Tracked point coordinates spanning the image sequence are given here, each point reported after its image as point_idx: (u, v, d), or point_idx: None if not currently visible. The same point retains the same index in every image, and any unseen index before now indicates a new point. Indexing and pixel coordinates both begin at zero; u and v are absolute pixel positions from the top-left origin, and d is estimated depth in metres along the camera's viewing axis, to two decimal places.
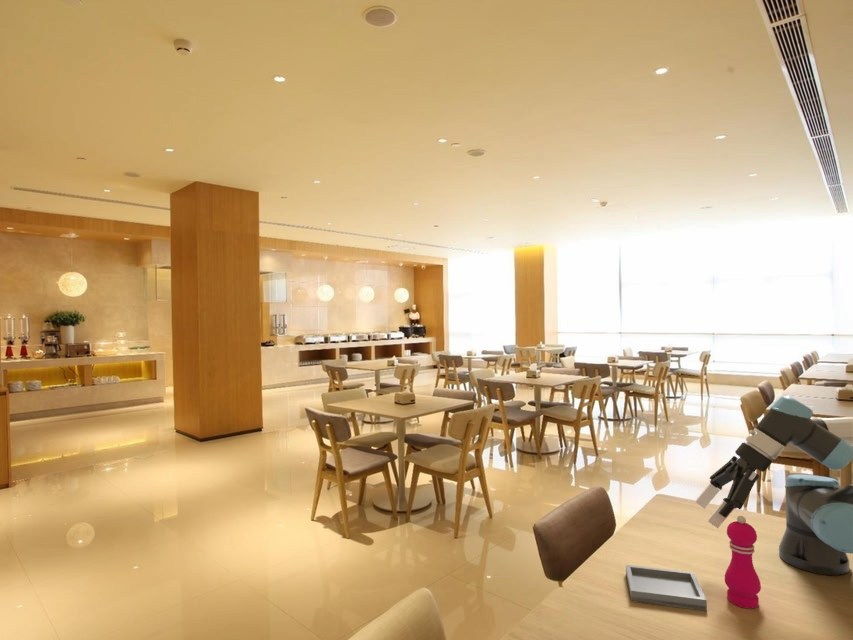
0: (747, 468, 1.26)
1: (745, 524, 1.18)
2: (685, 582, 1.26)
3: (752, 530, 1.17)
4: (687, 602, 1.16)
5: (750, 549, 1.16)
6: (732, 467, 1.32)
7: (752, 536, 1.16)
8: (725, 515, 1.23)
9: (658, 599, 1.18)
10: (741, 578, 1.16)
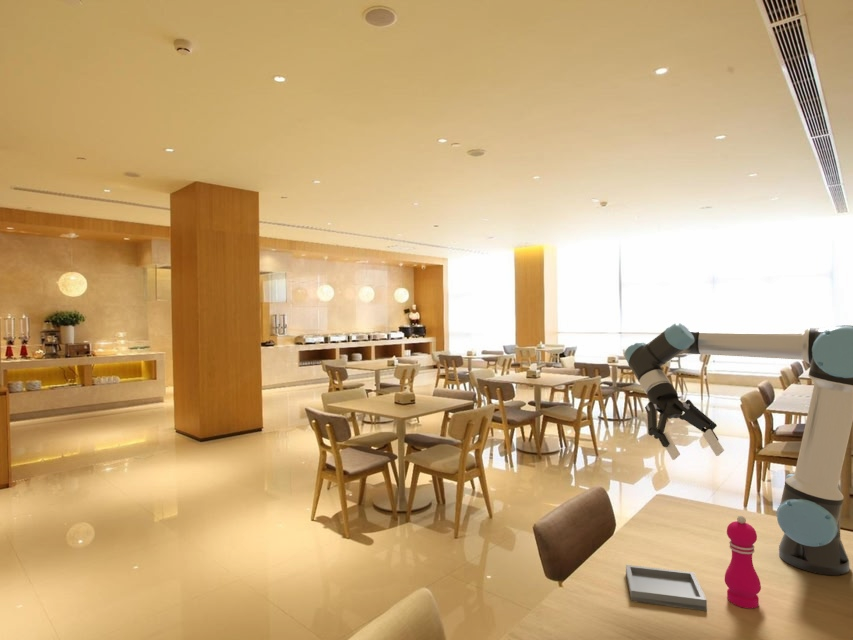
0: None
1: (745, 524, 1.18)
2: (685, 582, 1.26)
3: (752, 530, 1.17)
4: (687, 602, 1.16)
5: (750, 549, 1.16)
6: None
7: (752, 536, 1.16)
8: (664, 443, 1.32)
9: (658, 599, 1.18)
10: (741, 578, 1.16)
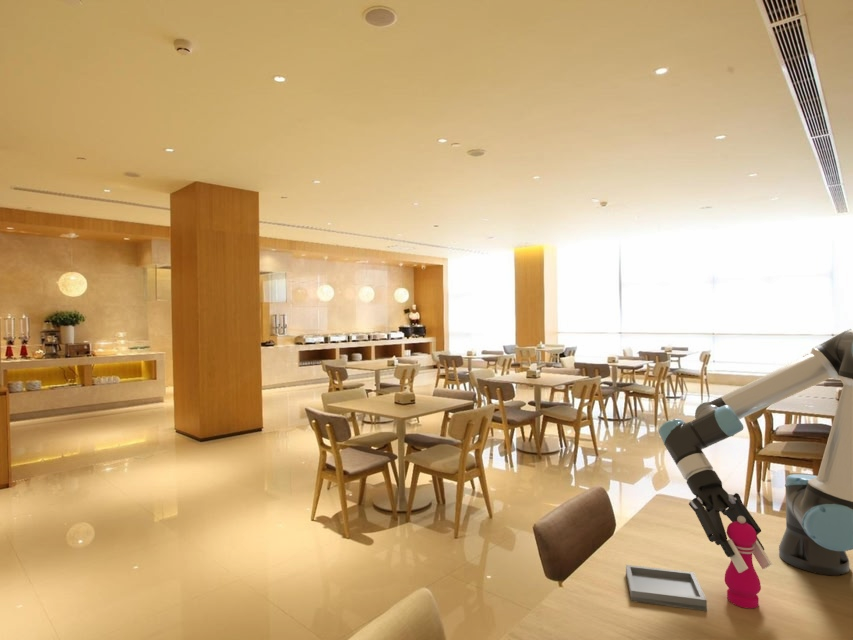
0: None
1: (745, 524, 1.18)
2: (685, 582, 1.26)
3: (752, 530, 1.17)
4: (687, 602, 1.16)
5: (750, 549, 1.16)
6: None
7: (752, 536, 1.16)
8: (728, 553, 1.16)
9: (658, 599, 1.18)
10: (741, 577, 1.16)
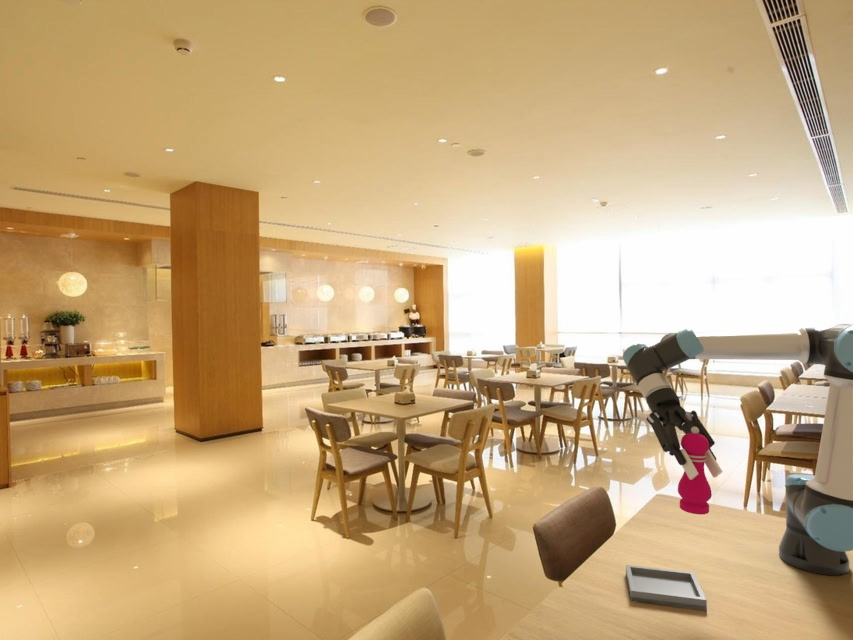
0: None
1: (698, 434, 1.21)
2: (685, 582, 1.26)
3: (704, 439, 1.19)
4: (687, 602, 1.16)
5: (702, 457, 1.19)
6: None
7: (704, 444, 1.19)
8: (680, 461, 1.19)
9: (658, 599, 1.18)
10: (692, 485, 1.19)
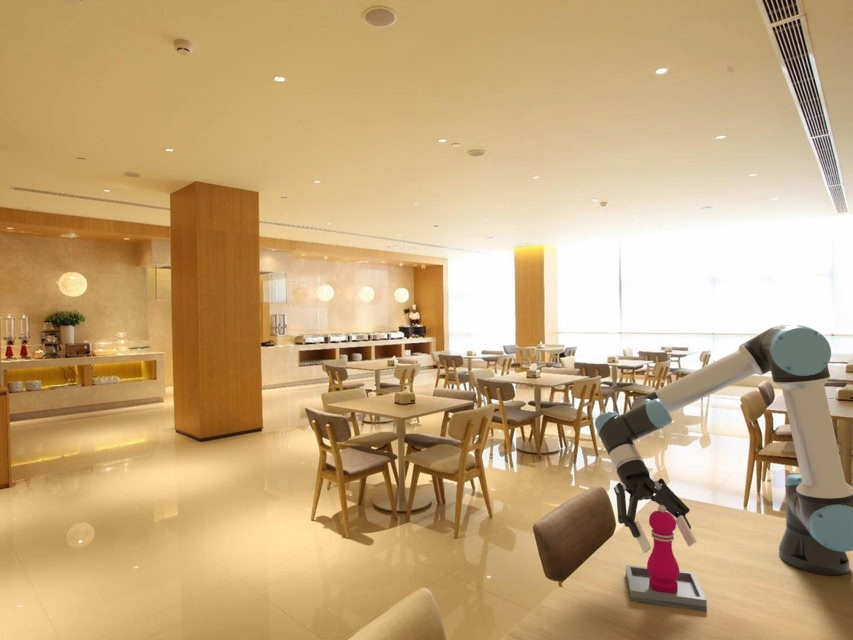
0: None
1: (665, 513, 1.23)
2: (685, 582, 1.26)
3: (671, 519, 1.21)
4: (687, 602, 1.16)
5: (669, 537, 1.21)
6: None
7: (670, 524, 1.21)
8: (634, 534, 1.22)
9: (658, 599, 1.18)
10: (660, 564, 1.21)
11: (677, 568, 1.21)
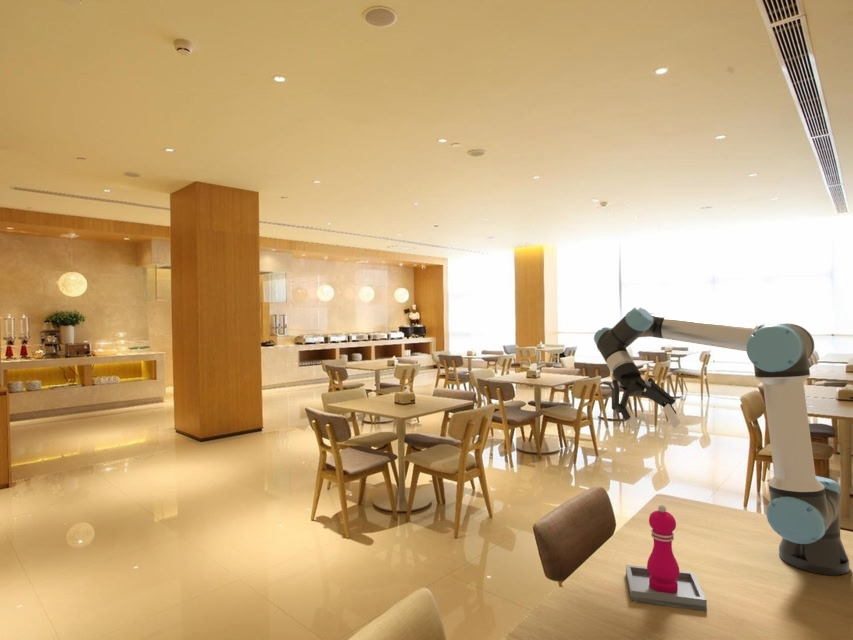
0: None
1: (665, 513, 1.23)
2: (685, 582, 1.26)
3: (671, 518, 1.21)
4: (687, 602, 1.16)
5: (669, 537, 1.21)
6: None
7: (670, 524, 1.21)
8: (625, 416, 1.44)
9: (658, 599, 1.18)
10: (660, 564, 1.21)
11: (677, 568, 1.21)
